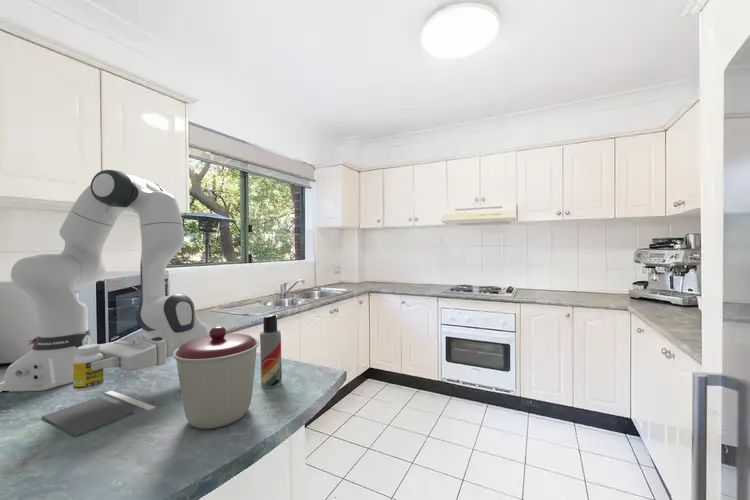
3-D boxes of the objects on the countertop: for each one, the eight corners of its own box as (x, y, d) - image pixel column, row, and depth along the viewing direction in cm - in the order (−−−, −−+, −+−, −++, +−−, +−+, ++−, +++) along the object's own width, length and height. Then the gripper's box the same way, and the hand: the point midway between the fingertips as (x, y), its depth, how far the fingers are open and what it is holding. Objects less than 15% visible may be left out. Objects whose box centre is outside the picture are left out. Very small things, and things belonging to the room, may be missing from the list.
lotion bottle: (273, 389, 89) (272, 317, 89) (256, 387, 91) (255, 316, 91) (285, 381, 94) (284, 313, 94) (269, 379, 96) (268, 312, 96)
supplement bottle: (85, 392, 74) (84, 350, 74) (67, 391, 75) (66, 349, 75) (109, 383, 79) (108, 343, 79) (92, 381, 80) (91, 342, 80)
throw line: (104, 393, 89) (104, 392, 89) (111, 391, 90) (111, 390, 90) (149, 410, 79) (149, 409, 79) (155, 408, 80) (155, 406, 80)
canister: (199, 450, 62) (197, 341, 62) (159, 423, 73) (157, 330, 73) (276, 411, 77) (274, 323, 77) (233, 393, 88) (232, 315, 88)
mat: (41, 417, 76) (41, 416, 76) (98, 398, 86) (98, 396, 86) (75, 436, 68) (75, 435, 68) (134, 413, 78) (134, 411, 78)
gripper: (127, 332, 93) (64, 346, 81) (168, 340, 84) (104, 357, 72) (127, 354, 93) (65, 370, 81) (169, 365, 84) (105, 385, 72)
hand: (83, 364), depth 76 cm, fingers closed on supplement bottle, 5 cm apart
